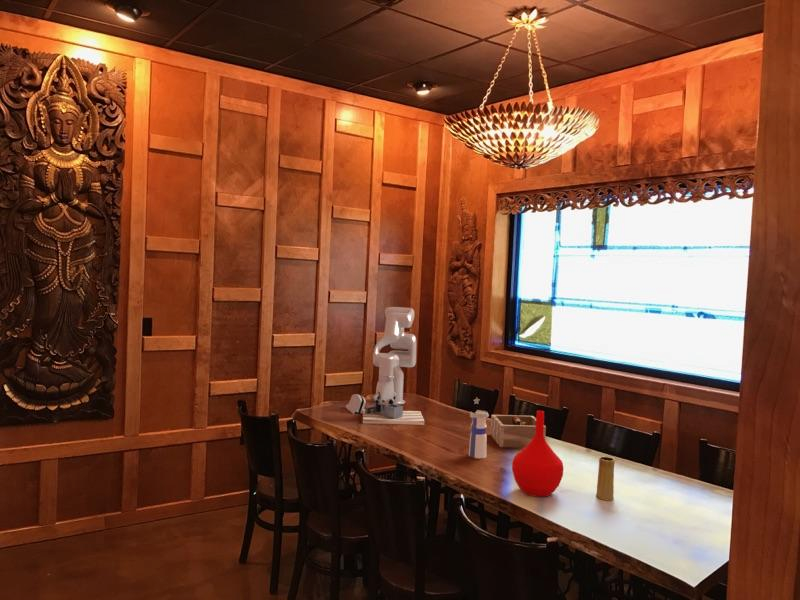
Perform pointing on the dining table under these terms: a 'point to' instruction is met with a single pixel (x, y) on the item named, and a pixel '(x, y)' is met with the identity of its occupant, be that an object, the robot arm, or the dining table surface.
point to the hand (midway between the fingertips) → (384, 410)
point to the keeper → (368, 409)
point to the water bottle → (478, 433)
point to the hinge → (356, 404)
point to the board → (407, 418)
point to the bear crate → (513, 430)
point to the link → (389, 410)
